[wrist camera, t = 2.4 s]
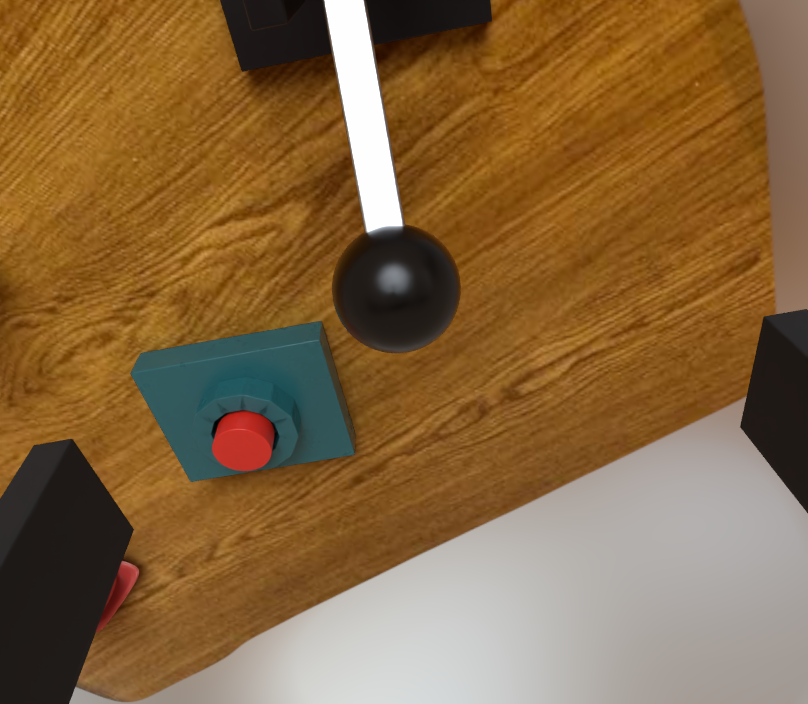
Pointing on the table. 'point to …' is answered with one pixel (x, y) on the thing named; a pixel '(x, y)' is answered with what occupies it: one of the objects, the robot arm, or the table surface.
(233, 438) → the button
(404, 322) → the lever
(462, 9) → the bracket
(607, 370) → the table surface
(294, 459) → the button box
